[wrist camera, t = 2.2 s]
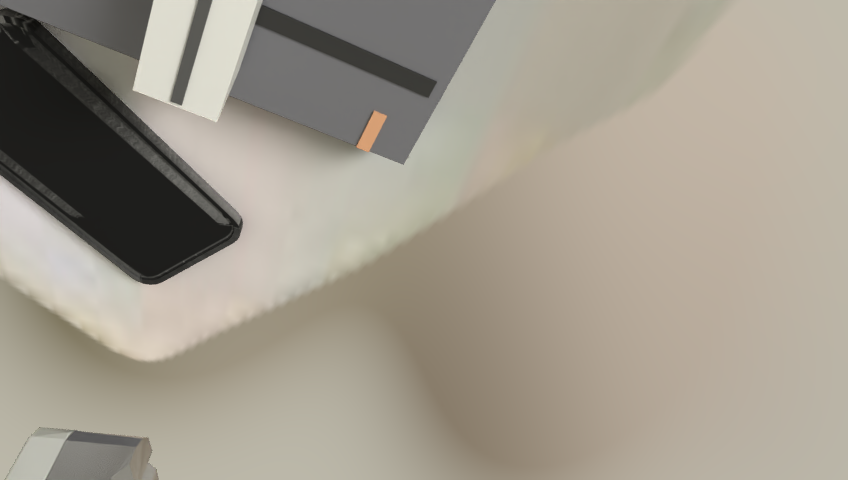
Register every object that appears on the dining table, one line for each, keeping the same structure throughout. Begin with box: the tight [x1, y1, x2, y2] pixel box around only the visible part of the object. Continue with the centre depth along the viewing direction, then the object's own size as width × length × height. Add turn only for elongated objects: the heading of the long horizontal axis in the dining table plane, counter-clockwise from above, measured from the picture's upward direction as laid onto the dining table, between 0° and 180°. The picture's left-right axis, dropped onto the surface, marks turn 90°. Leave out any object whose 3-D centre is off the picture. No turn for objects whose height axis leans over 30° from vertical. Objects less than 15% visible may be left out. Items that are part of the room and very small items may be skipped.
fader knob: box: [133, 0, 263, 122], centre depth 25 cm, size 3×5×4 cm, turn 154°
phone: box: [0, 8, 243, 285], centre depth 35 cm, size 8×1×15 cm
